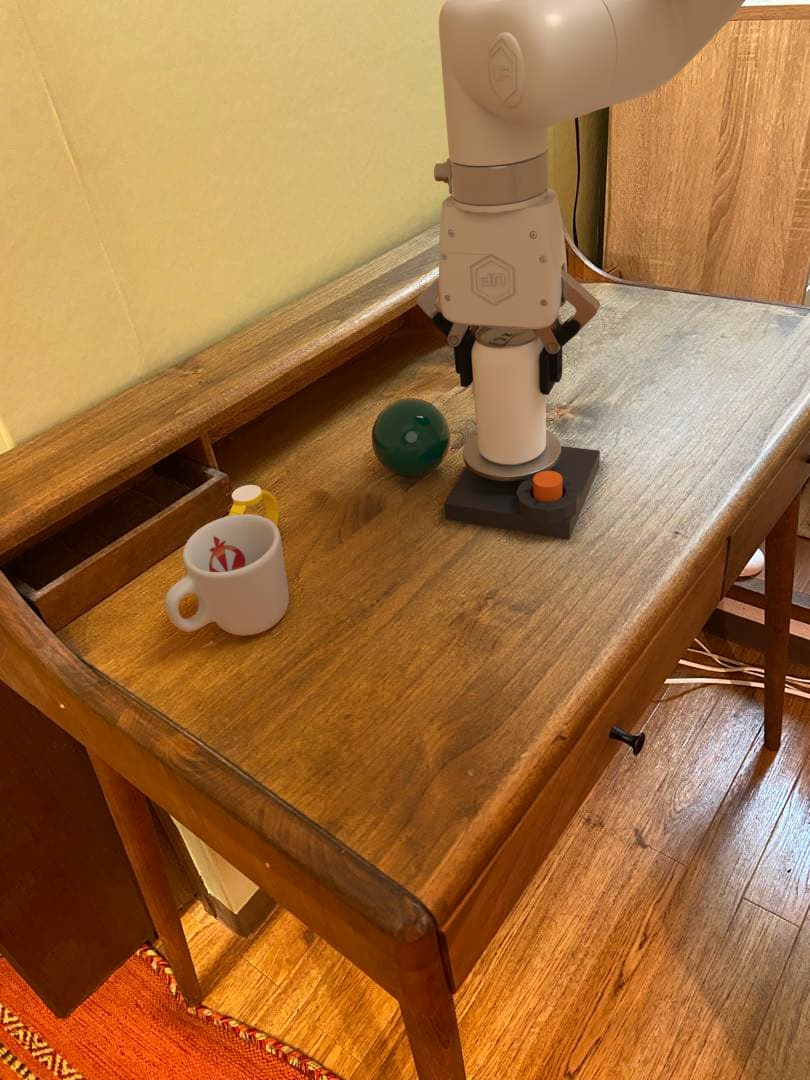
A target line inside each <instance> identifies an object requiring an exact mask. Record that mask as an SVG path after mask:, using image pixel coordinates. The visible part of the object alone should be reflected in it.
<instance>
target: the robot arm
mask: <svg viewBox="0 0 810 1080" xmlns="http://www.w3.org/2000/svg"><path fill="white" fill-rule="evenodd" d="M745 2H746V0H446V1H445V2H444V4H442V7H441V9H440V13H439V17H438V35H439V36H438V37H439V48H440V62H441V74H442V76H441V77H442V86H443V100H444V111H445V123H446V125H445V126H446V133H447V134H446V135H447V137H446V138H447V148H448V149H447V150H448V158H447V159H446V161H444V162H443V163H442V162H441V163H440V162H439V163H438V162H437V163H436V164H435V165H434V167H433V168H434V169H433V177H434V180H435V182H443V183H444V184H447V186H448V191H449V192H448V194H450V195H449V196H447V197H446V198H445V199H444V200H443V201H442V203H441V212H440V223H439V239H438V277H437V278H436V279H435V280H434V281H432V283H431V284H430V285H429V286H428V287H426V288H425V289H424V290H423V291H422V293H420V294H419V296H417V298H416V304H417V306H418V307H419V308H420V309H421V310H422V311H423V312H424V314H426V316H427V317H428V318H430V319H431V320H432V324H433V325H434V326H435V327H436V328H437V329H438V330H439V332H441V333H442V334H443V335H444V336H445V337H446V338H447V340H446V341H447V343H448V344H449V346H451V347H453V355H454V356H453V357H454V366H455V367H454V368H455V373H456V374H458V375H459V380H460V387H461V388H468V387H470V386H471V385H472V383H473V370H472V348H473V345H474V343H475V341H476V339H475V333H476V332H472V330H471V329H472V327H482V326H485V327H500V328H517V329H535V330H536V331H537V333H538V335H539V337H540V339H541V341H542V343H543V345H544V348H543V350H542V352H541V353H540V357H539V361H540V393H542V395H546V396H548V395H550V393H551V391H552V390H553V388H554V386H555V384H556V383H560V382H561V380H562V376H563V347H564V346H565V345H566V344H568V342H570V341H571V340H572V339H573V338H574V337H576V336H577V335H578V333H579V332H580V331H581V330H582V329H583V328H584V327H585V326H586V325H587V324H588V323H589V322H590V321H591V320H592V319H593V318H594V317H595V316H596V315H597V313H598V311H599V310H600V308H601V302H600V301H599V300H598V298H596V297H595V296H594V295H593V294H592V293H591V292H590V291H588V290H587V289H586V288H585V287H584V286H583V285H582V284H581V283H579V282H578V281H577V280H576V279H575V278H574V277H573V276H571V274H570V273H568V265H567V251H566V240H565V231H564V226H563V218H562V213H561V208H560V203H559V199H558V195H557V191H556V190H555V189H552V188H549V127H551V126H554V125H558V124H561V123H564V122H567V121H571V120H574V119H576V118H580V117H583V116H586V115H588V114H590V113H593V112H596V111H598V110H602V109H606V108H609V107H612V106H615V105H620V104H622V103H625V102H628V101H632V100H635V99H638V98H641V97H643V96H646V95H648V94H650V93H652V92H654V91H656V90H658V89H659V88H661V87H662V86H664V85H666V84H667V83H668V82H670V80H672V79H673V78H674V77H675V76H677V75H678V74H679V73H680V72H681V71H682V70H683V69H684V68H686V66H687V65H689V63H690V62H692V60H694V59H695V57H696V56H697V55H699V53H700V52H701V51H702V50H703V49H704V48H705V47H706V46H707V45H708V44H709V43H710V42H711V41H712V39H714V37H715V36H716V35H717V34H718V33H720V31H721V30H722V29H723V28H724V27H725V26H726V24H727V23H728V22H729V21H730V20H731V19H732V18H733V17H734V16H735V14H736V13H737V12H738V11H739V10H740V8H742V6H743V4H744V3H745ZM566 302H568V303H569V304H570V305H572V307H574V309H575V312H574V313H573V314H572V315H570V317H568V318H567V319H566V320H565V321H564V322H563V321H562V319H561V317H560V315H559V312H560V310H561V309H560V308H562V307H563V306H565V304H566Z"/></svg>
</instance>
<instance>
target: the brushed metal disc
mask: <svg viewBox="0 0 810 1080" xmlns="http://www.w3.org/2000/svg"><path fill="white" fill-rule="evenodd" d="M561 446H562V445H561V441H560V440H559V438H558V437H557V435H555V434H554V433H553V432H551V431H550V430H549V429H546V447H545V449H544V451H543V452H542V453H541V454H540V455H539V456H538V457H537V458H536V459H534V460H533V461H530V462H528V463H525V464H521V465H514V466H506V465H499V464H495V463H492V462H490V461H489V460H487V459H486V458H485V457H484V456H483V455H482V454H481V453H480V451H479V447H478V436H477V432H476V433H475V434H473V435H472V436H471V437H470V438H468V440H466V442H465V443H464V446H463V448H462V459H463V462H464V465H465V466H466V467H468V468H469V469H470V470H471V471H472V472H473V473H475V474H477V475H479V476H481V477H484V478H487V479H491V480H496V481H520V480H526V479H530V478H533V477H534V476H535V475H536V474H537V473H539V472H542V471H549V470H550V469H552V468H553V467H554V466H555V465H556V464H557V462H558V461H559V459H560V456H561Z"/></svg>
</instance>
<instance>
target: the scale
mask: <svg viewBox="0 0 810 1080" xmlns="http://www.w3.org/2000/svg"><path fill="white" fill-rule="evenodd" d="M600 459H601V450H598V449H591V448H580V447H573V446H566V445H565V446H564V445H561V456H560V459H559V461H558V462H557V464H556V465H555V466H554V467H553V468H552V469H550V470H549V471H555V472H557V473H559V474H560V475H561V476H562V478H563V495H562V497H561V498H560V499H559V500H557V501H552V502H544V501H538V500H536V499H535V498H534V496H533V478H530V479H526V480H520V481H496V480H491V479H487V478H484V477H481V476H479V475H477V474H475V473H473V472H472V471H471V470H470V469H469V468H468V467H467V466H466V467H465V468H464V469H463V471H462V473H461V474H460V476H459V478H458V480H456V482H455V485H454V486H453V488H452V489H451V491H450V493H449V494H448V496H447V498H446V499H445V501H444V502H443V509H444V511H443V512H444V519H445V520H448V521H453V522H460V523H465V524H473V525H480V526H486V527H491V528H496V529H497V528H498V529H505V530H509V531H515V532H516V531H517V532H523V533H528V534H529V533H530V534H536V535H542V536H549V537H554V538H561V539H566V540H570V539H571V536H572V534H573V532H574V529H575V527H576V525H577V522H578V520H579V517H580V515H581V512H582V510H583V508H584V505H585V502H586V500H587V497H588V496H589V492H590V490H591V488H592V486H593V483H594V481H595V478H596V476H597V474H598V471H599V469H600V462H601V461H600Z"/></svg>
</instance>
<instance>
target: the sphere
mask: <svg viewBox="0 0 810 1080" xmlns="http://www.w3.org/2000/svg"><path fill="white" fill-rule="evenodd" d="M371 444H372V445H371V446H372V450H373V453H374V456H375V457H376V459H377V460H378V462H379V463H380V465H381V466H382V467H383V468H384V469H385V470H386V471H388V472H390V473H391V474H392V475H393V474H394V475H395V476H397V477H401V478H405V479H415V478H421V477H424V476H427V475H429V474H431V473H432V472H434V471H435V470H436V469H438V468H439V467H440V465H442V463H443V462H444V461H445V459H446V457H447V456H448V452H449V449H450V446H451V432H450V427H449V423H448V421H447V419H446V417H445V415H444V414H443V413H442V411H440V409H438V408H437V407H436V406H435V405H434V404H433V403H431V402H428V401H426V400H424V399H420V398H416V397H415V398H414V397H411V398H410V397H408V398H407V397H406V398H401V399H397V400H396V401H394V402H391V403H390V404H388V405H386V406H385V408H383V410H381V411H380V413H378V415H377V417H376V419H375V421H374V424H373V426H372V429H371Z"/></svg>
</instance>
